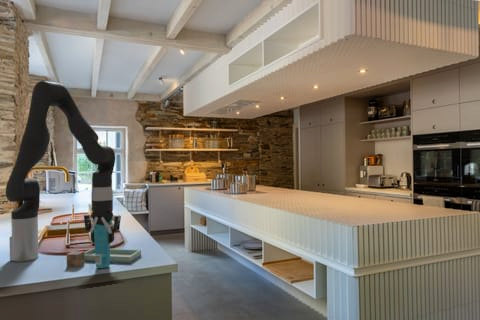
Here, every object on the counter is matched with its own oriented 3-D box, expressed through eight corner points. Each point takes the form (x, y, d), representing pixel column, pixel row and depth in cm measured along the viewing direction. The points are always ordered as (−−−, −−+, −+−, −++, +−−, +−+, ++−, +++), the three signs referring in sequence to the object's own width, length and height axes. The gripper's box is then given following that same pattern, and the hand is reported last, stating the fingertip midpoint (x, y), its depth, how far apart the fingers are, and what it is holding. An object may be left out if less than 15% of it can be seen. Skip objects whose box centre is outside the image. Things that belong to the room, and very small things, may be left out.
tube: (114, 263, 132) (114, 214, 132) (110, 268, 128) (110, 217, 127) (94, 264, 132) (94, 215, 131) (90, 268, 127) (89, 217, 126)
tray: (78, 261, 138) (78, 254, 138) (92, 253, 147) (92, 248, 147) (130, 263, 134) (130, 257, 134) (141, 255, 144) (141, 249, 144)
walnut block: (66, 267, 130) (66, 254, 130) (74, 263, 135) (73, 250, 135) (77, 267, 130) (77, 254, 130) (84, 263, 134) (84, 251, 134)
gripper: (78, 199, 126) (79, 244, 127) (115, 200, 124) (115, 245, 125) (90, 196, 134) (90, 239, 134) (124, 197, 132) (125, 240, 132)
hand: (102, 242), depth 130 cm, fingers closed on tube, 6 cm apart
